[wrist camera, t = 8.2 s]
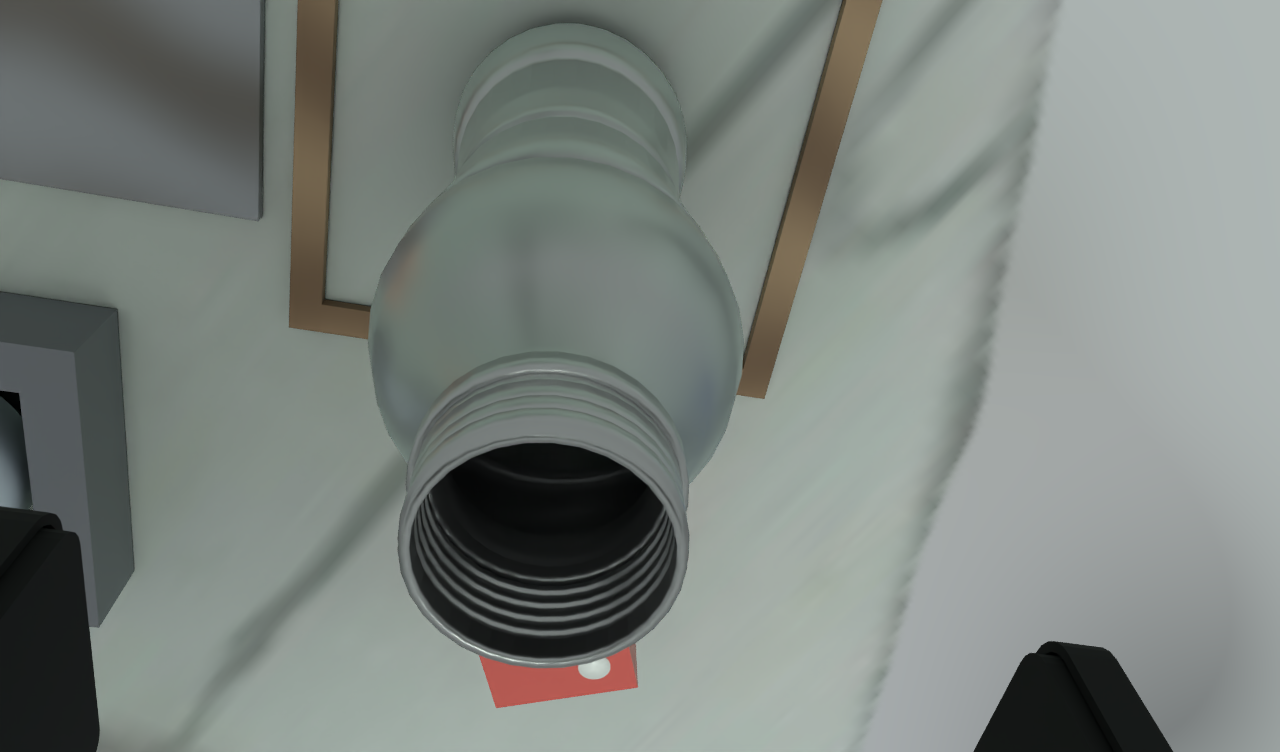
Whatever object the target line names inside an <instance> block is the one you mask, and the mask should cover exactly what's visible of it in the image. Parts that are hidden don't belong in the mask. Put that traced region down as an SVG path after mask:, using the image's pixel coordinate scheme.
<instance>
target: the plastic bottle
mask: <svg viewBox="0 0 1280 752" xmlns="http://www.w3.org/2000/svg"><path fill="white" fill-rule="evenodd" d="M686 151H687V137H686V131H685V124H684V118H683V114H682V111H681V108H680V106H679V103H678V100H677V97H676V95H675V92H674V91H673V89H672V87H671V86H670V84H669V82H668V81H667V79H666V77H665V76H664V74H663V73H662V71H661V70H660V69H659V68H658V67H657V66H656V65H655V64H654V63H653V61H652V60H651V59H650V58H649V57H648V56H647V55H646V54H645V53H644V52H642V51H641V50H640V49H638V48H637V47H636V46H634V45H633V44H631V43H630V42H629V41H627V40H626V39H624V38H622V37H619V36H617V35H615V34H613V33H611V32H609V31H606V30H604V29H601V28H597V27H593V26H588V25H584V24H578V23H556V24H551V25H546V26H541V27H537V28H532V29H530V30H527V31H525V32H523V33H521V34H518V35H516V36H514V37H512V38H510V39H508V40H507V41H506V42H504V43H503V44H501V45H500V46H499V47H497V48H496V49H495V50H493V51H492V52H491V53H490V54H489V55H488V56H487V57H486V58H485V59H484V61H483V62H482V63H481V64H480V65H479V66H478V67H477V69H476V70H475V71H474V73H473V74H472V76H471V78H470V80H469V82H468V83H467V85H466V87H465V89H464V91H463V93H462V96H461V99H460V102H459V105H458V109H457V112H456V116H455V125H454V134H453V157H454V169H455V179H454V181H453V183H452V184H451V185H450V186H449V187H448V188H447V189H446V190H445V191H444V192H442V193H441V194H440V195H439V196H438V198H436V199H435V200H434V201H433V202H432V203H431V204H430V205H429V206H428V207H427V208H426V210H425V211H424V212H423V213H422V214H421V215H420V216H419V217H418V218H417V219H416V221H415V222H414V223H413V224H412V225H411V226H410V228H409V229H408V231H407V232H406V234H405V236H404V237H403V238H402V240H401V241H400V242H399V244H398V246H397V247H396V249H395V251H394V253H393V254H392V256H391V258H390V260H389V261H388V263H387V265H386V267H385V268H384V270H383V272H382V274H381V276H380V279H379V282H378V286H377V289H376V292H375V296H374V299H373V302H372V305H371V309H370V321H369V335H368V348H369V355H370V362H371V369H372V376H373V382H374V388H375V394H376V400H377V404H378V407H379V410H380V412H381V415H382V418H383V421H384V423H385V426H386V429H387V431H388V434H389V436H390V437H391V439H392V440H393V442H394V444H395V445H396V447H397V449H398V450H399V452H400V453H401V455H402V457H403V458H404V460H405V461H406V463H407V464H408V468H407V477H406V490H407V494H406V497H405V500H404V504H403V507H402V510H401V514H400V520H399V530H398V556H399V563H400V570H401V574H402V577H403V579H404V582H405V584H406V587H407V589H408V592H409V595H410V596H411V598H412V599H413V601H414V602H415V604H416V605H417V607H418V608H419V610H420V611H421V613H422V614H423V615H424V616H425V617H426V618H427V619H428V620H429V621H430V622H431V623H432V624H433V625H434V626H435V627H436V628H437V629H438V630H439V631H440V632H441V633H442V634H444V635H445V636H447V637H448V638H449V639H451V640H452V641H454V642H455V643H457V644H458V645H460V646H461V647H463V648H465V649H467V650H469V651H472V652H474V653H476V654H478V655H480V656H482V657H484V658H488V659H491V660H495V661H498V662H502V663H505V664H509V665H514V666H522V667H530V668H565V667H571V666H577V665H582V664H588V663H591V662H594V661H597V660H600V659H603V658H606V657H609V656H612V655H614V654H616V653H618V652H620V651H622V650H624V649H626V648H627V647H629V646H631V645H633V644H635V643H636V642H637V641H639V640H640V639H641V638H643V637H644V636H645V635H646V634H648V633H649V632H650V631H651V630H653V629H654V628H655V627H656V626H657V624H658V623H659V622H660V621H661V620H662V619H663V618H664V616H665V615H666V614H667V613H668V612H669V611H670V609H671V607H672V605H673V603H674V601H675V600H676V598H677V596H678V594H679V592H680V591H681V587H682V584H683V580H684V577H685V573H686V570H687V561H688V554H689V530H688V524H687V516H686V510H687V507H688V494H689V484H690V483H691V482H692V481H693V480H694V479H695V478H696V476H697V475H698V474H699V473H700V471H701V470H702V469H703V468H704V466H705V465H706V464H707V463H708V462H709V460H710V459H711V458H712V456H713V454H714V452H715V450H716V448H717V446H718V444H719V442H720V441H721V439H722V437H723V435H724V433H725V431H726V428H727V425H728V421H729V418H730V414H731V411H732V408H733V404H734V401H735V397H736V394H737V390H738V386H739V383H740V379H741V376H742V364H743V349H744V338H743V331H742V324H741V318H740V311H739V306H738V304H737V301H736V298H735V295H734V293H733V290H732V287H731V285H730V282H729V279H728V277H727V274H726V272H725V270H724V268H723V266H722V264H721V262H720V260H719V257H718V255H717V254H716V252H715V251H714V249H713V247H712V246H711V244H710V243H709V241H708V239H707V238H706V236H705V235H704V233H703V232H702V230H701V228H700V227H699V226H698V225H697V224H696V222H695V221H694V219H693V218H692V217H691V215H690V214H689V213H688V211H687V210H686V209H685V207H684V206H683V204H682V203H681V201H680V194H681V189H682V185H683V181H684V176H685V168H686Z"/></svg>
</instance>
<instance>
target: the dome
mask: <svg viewBox="0 0 1280 752" xmlns="http://www.w3.org/2000/svg"><path fill="white" fill-rule="evenodd" d="M32 504H33V502H32V493H31V485H30V477H29V469H28V461H27V453H26V445H25V437H24V429H23V421H22V417H21V416H20V415H19V414H18V412H17V411H16V410H15V409H14V408H13V407H12V406H11V405H10V404H9V403H8V402H7V401H5V400H4V399H3V398H2V397H1V396H0V506H2V507H10V508H18V509H26V510H28V509H29V508H30V507H31V506H32Z"/></svg>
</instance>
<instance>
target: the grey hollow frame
mask: <svg viewBox="0 0 1280 752" xmlns="http://www.w3.org/2000/svg"><path fill="white" fill-rule="evenodd" d="M0 390H1V391H8V392H16V393H19V396H20V405H21V413H22V421H23V429H24V437H25V445H26V453H27V461H28V469H29V477H30V485H31V493H32V502H33V510H34V511H41V512H49V513H53V514H57V516H58V517H59V519H60V520H61V523H62V527H63V531H71V532H75V533H76V534H77V535H78V537H79V540H80V544H81V554H82V564H83V573H84V583H85V592H86V602H87V612H88V621H89V627H98V628H99V627H100V625H101V624H102V622H103V620H104V619H105V617H106V615H107V614H108V612H109V611H110V609H111V607H112V606H113V604H114V603H115V601H116V599H117V598H118V596H119V595H120V593H121V591H122V590H123V588H124V587H125V585H126V583H127V582H128V580H129V578H130V577H131V575H132V574H133V572H134V560H133V545H132V530H131V514H130V499H129V484H128V469H127V453H126V438H125V423H124V408H123V392H122V377H121V362H120V346H119V331H118V316H117V309H112V308H105V307H99V306H92V305H85V304H78V303H72V302H65V301H58V300H52V299H45V298H38V297H32V296H25V295H18V294H12V293H5V292H0Z"/></svg>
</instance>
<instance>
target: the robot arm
mask: <svg viewBox="0 0 1280 752" xmlns="http://www.w3.org/2000/svg"><path fill="white" fill-rule="evenodd" d="M99 734H100V727H99V717H98V708H97V698H96V688H95V679H94V669H93V660H92V650H91V640H90V631H89V621H88V612H87V602H86V592H85V583H84V573H83V564H82V554H81V544H80V540H79V537H78V535H77V534H76V533H75V532H71V531H63V527H62V523H61V520H60V519H59V517H58V516H57V514H53V513H49V512H41V511H34V510H26V509H18V508H10V507H2V506H0V752H96V750H97V746H98V741H99ZM974 752H1173V751H1172V749H1171V747H1170V746H1169V744H1168V743H1167V741H1166V739H1165V738H1164V736H1163V734H1162V733H1161V731H1160V730H1159V728H1158V726H1157V725H1156V723H1155V721H1154V720H1153V718H1152V716H1151V715H1150V713H1149V712H1148V710H1147V708H1146V707H1145V705H1144V703H1143V702H1142V700H1141V698H1140V697H1139V695H1138V694H1137V692H1136V690H1135V689H1134V687H1133V686H1132V684H1131V682H1130V681H1129V679H1128V677H1127V676H1126V674H1125V672H1124V671H1123V669H1122V668H1121V666H1120V664H1119V663H1118V661H1117V659H1115V657H1114V656H1113V655H1112V654H1111V652H1110V651H1108V650H1106V649H1104V648H1101V647H1094V646H1086V645H1079V644H1070V643H1063V642H1055V641H1053V642H1052V641H1049V642H1047V643H1045V644H1043V645H1041V647H1040V648H1039V649H1038V651H1037V652H1036V653H1029V654H1028V655H1026V656H1025V657H1024V658H1023V660H1022V661H1021V663H1020V665H1019V666H1018V668H1017V670H1016V672H1015V674H1014V676H1013V678H1012V680H1011V682H1010V683H1009V685H1008V687H1007V689H1006V691H1005V693H1004V695H1003V697H1002V699H1001V701H1000V702H999V704H998V706H997V708H996V710H995V712H994V714H993V716H992V718H991V719H990V721H989V723H988V725H987V727H986V729H985V731H984V733H983V735H982V736H981V738H980V740H979V742H978V744H977V746H976V748H975V750H974Z"/></svg>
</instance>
